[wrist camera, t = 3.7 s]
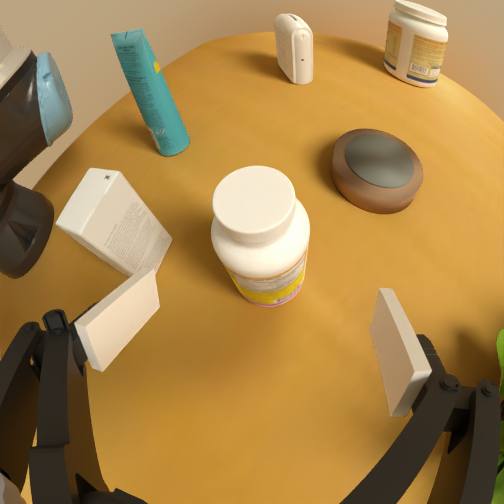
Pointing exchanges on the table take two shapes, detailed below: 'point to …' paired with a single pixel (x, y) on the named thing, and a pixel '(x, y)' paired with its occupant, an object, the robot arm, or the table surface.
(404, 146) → the walnut plinth
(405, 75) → the supplement tub
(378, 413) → the table surface
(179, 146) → the tube
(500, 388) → the potted flower
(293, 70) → the photo printer
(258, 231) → the supplement bottle
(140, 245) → the skincare box
